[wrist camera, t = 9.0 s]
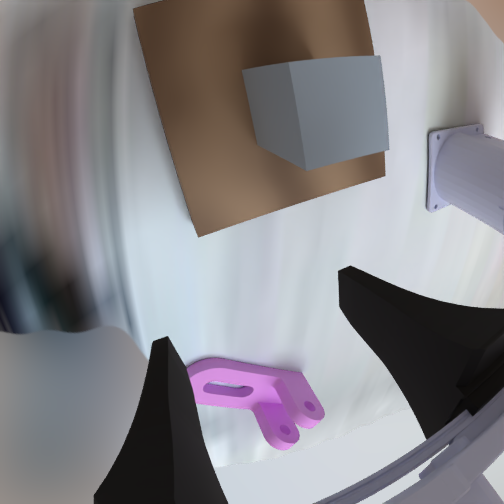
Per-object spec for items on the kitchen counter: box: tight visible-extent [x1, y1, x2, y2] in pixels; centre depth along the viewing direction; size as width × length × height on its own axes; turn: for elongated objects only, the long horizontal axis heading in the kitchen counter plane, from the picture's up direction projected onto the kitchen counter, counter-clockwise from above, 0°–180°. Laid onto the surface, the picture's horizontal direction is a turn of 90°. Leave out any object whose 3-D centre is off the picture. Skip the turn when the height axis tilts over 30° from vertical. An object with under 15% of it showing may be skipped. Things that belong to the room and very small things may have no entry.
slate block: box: [242, 56, 389, 171], centre depth 14 cm, size 4×4×6 cm
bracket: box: [187, 358, 325, 450], centre depth 28 cm, size 13×6×7 cm, turn 56°
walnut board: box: [133, 0, 385, 237], centre depth 17 cm, size 14×14×2 cm
